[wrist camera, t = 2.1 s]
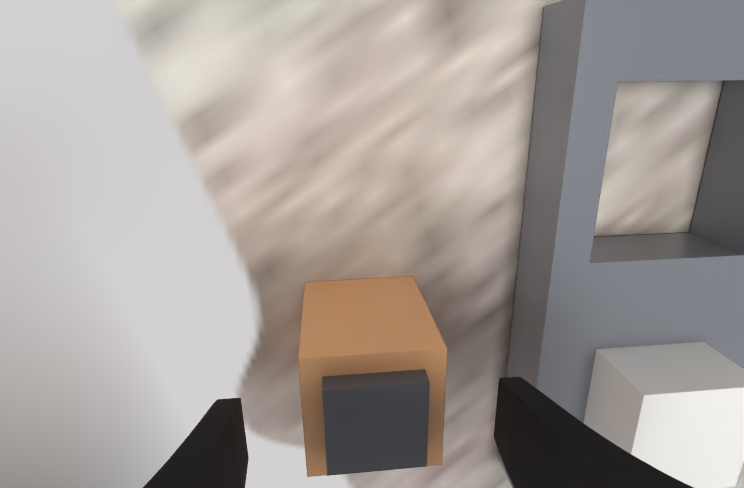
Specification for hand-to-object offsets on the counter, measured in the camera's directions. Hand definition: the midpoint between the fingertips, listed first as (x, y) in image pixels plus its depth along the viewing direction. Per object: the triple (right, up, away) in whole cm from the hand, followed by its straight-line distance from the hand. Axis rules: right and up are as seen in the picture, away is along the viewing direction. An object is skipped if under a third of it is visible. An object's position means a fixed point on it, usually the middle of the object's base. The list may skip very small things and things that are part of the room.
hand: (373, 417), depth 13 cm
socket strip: (+9, +3, +6) cm, 11 cm away
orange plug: (0, +2, +5) cm, 5 cm away
